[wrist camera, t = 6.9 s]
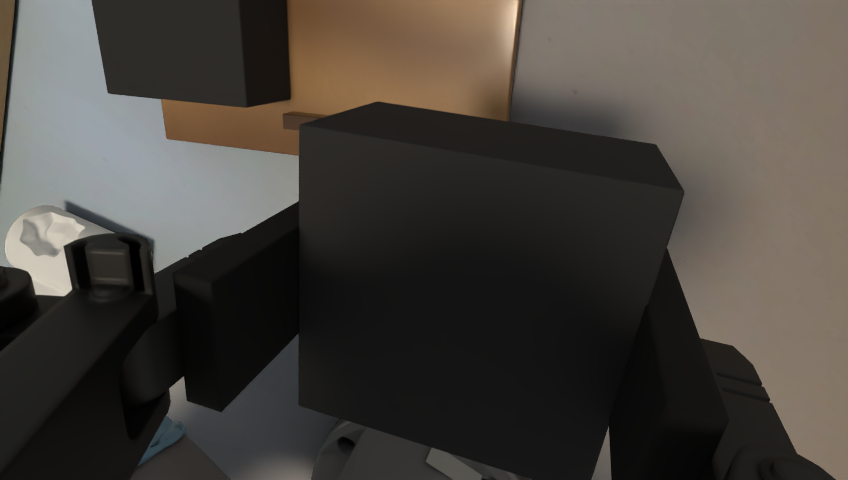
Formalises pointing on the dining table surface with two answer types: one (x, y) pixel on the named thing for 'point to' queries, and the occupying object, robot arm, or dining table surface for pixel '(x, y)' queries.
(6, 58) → the lamp
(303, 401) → the black rectangular block
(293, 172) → the dining table surface
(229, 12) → the pad
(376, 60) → the tray
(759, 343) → the dining table surface
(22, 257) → the plastic part
